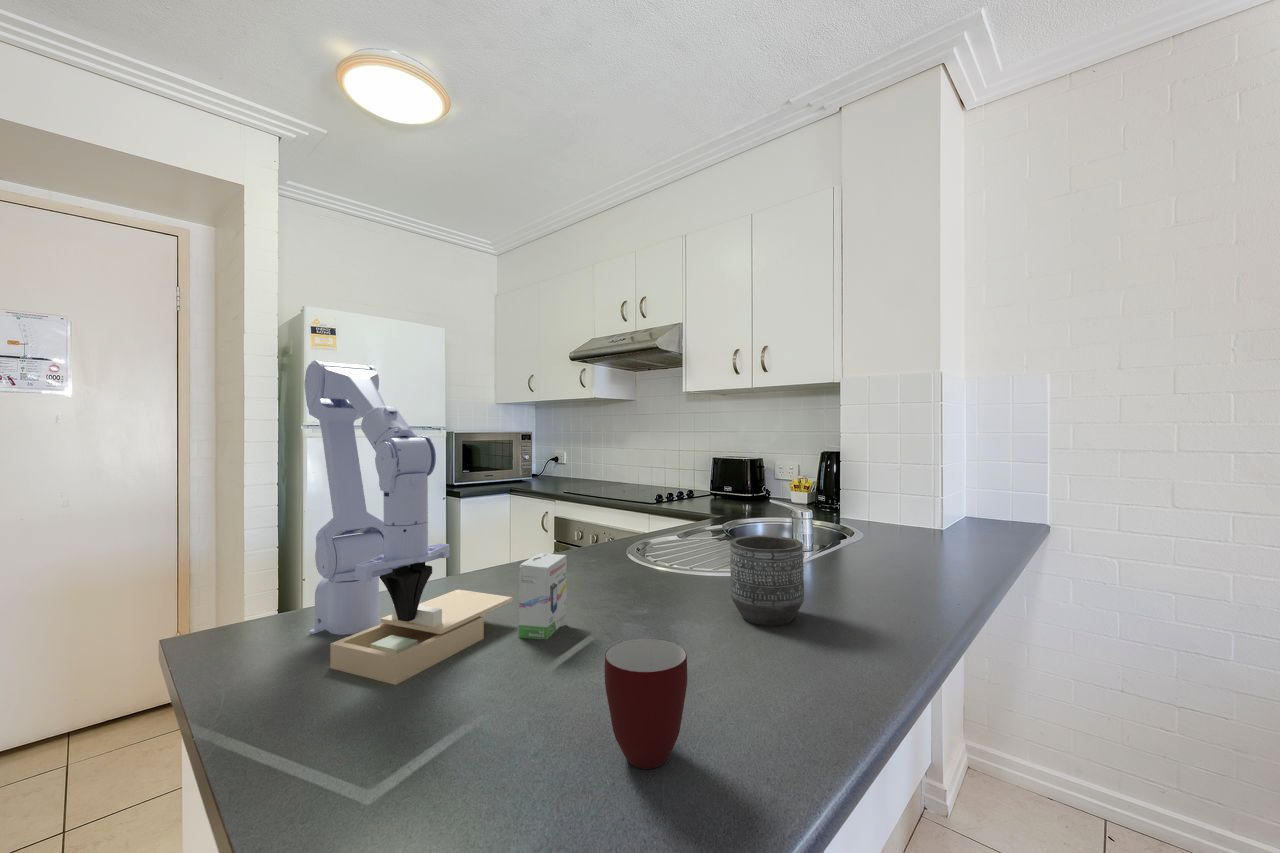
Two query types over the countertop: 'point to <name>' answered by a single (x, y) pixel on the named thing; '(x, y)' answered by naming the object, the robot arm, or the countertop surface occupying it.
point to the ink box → (542, 595)
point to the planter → (767, 578)
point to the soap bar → (393, 644)
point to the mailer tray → (399, 667)
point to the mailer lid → (449, 611)
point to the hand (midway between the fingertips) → (406, 619)
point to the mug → (646, 698)
